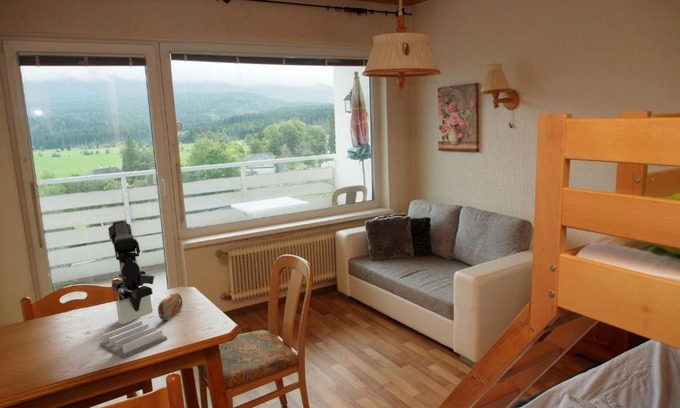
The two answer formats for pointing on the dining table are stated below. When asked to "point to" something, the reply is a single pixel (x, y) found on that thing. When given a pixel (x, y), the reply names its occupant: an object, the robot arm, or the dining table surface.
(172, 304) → the tin
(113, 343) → the dish rack
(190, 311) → the dining table surface
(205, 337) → the dining table surface
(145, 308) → the plate slab
